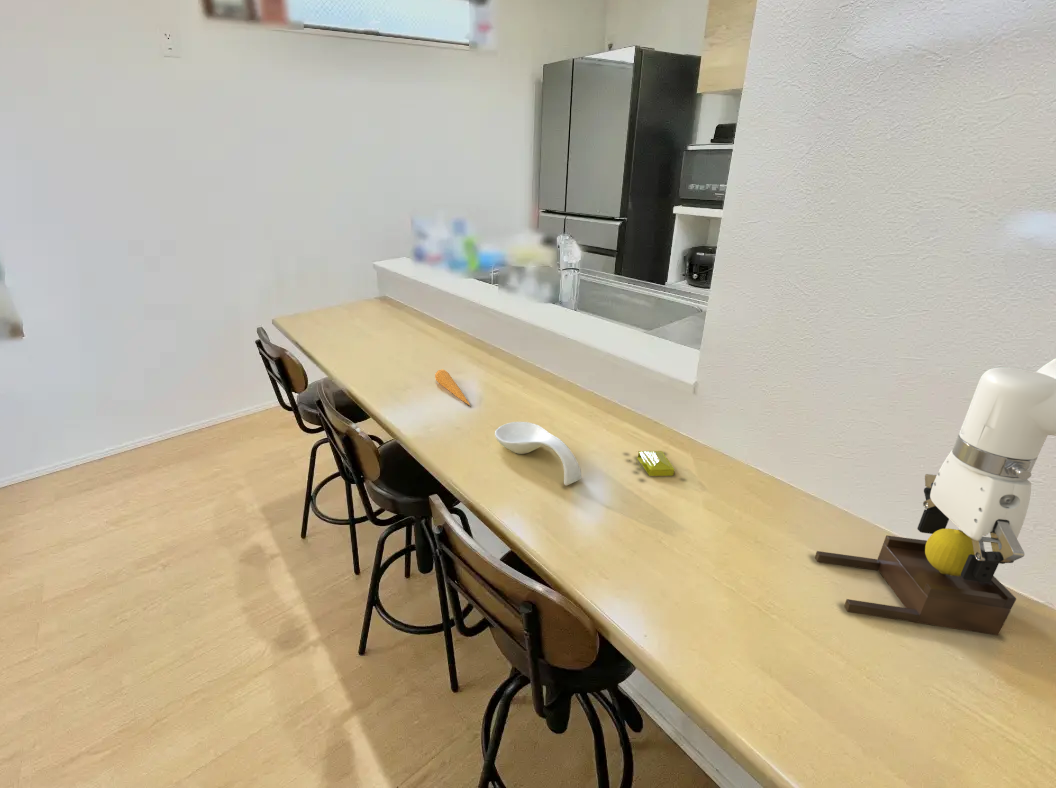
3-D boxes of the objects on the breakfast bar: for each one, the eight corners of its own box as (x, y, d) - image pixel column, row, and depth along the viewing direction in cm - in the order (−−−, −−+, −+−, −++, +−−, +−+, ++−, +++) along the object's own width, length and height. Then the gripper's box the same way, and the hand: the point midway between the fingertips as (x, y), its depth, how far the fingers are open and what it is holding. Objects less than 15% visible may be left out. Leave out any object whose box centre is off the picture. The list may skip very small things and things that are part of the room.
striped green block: (683, 479, 105) (685, 468, 104) (640, 480, 105) (642, 468, 104) (664, 453, 115) (666, 442, 114) (625, 454, 115) (626, 443, 114)
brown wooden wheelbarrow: (945, 575, 81) (959, 541, 78) (998, 635, 70) (1016, 598, 68) (814, 557, 85) (824, 524, 82) (847, 611, 74) (859, 575, 72)
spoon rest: (485, 443, 120) (485, 417, 117) (521, 428, 126) (522, 403, 123) (555, 493, 101) (557, 464, 99) (593, 474, 107) (596, 445, 105)
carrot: (435, 382, 154) (431, 372, 151) (447, 375, 155) (443, 364, 152) (466, 415, 138) (461, 404, 135) (479, 407, 139) (475, 396, 136)
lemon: (909, 564, 77) (925, 522, 74) (933, 555, 78) (950, 514, 75) (952, 592, 72) (971, 548, 69) (977, 582, 73) (996, 539, 70)
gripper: (1086, 499, 59) (1030, 607, 65) (977, 427, 75) (940, 519, 81) (1010, 491, 61) (963, 597, 66) (919, 422, 76) (887, 513, 82)
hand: (950, 554), depth 74 cm, fingers open, 9 cm apart
